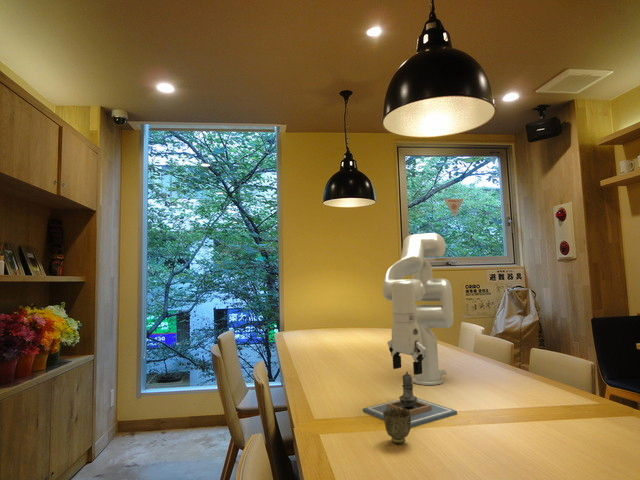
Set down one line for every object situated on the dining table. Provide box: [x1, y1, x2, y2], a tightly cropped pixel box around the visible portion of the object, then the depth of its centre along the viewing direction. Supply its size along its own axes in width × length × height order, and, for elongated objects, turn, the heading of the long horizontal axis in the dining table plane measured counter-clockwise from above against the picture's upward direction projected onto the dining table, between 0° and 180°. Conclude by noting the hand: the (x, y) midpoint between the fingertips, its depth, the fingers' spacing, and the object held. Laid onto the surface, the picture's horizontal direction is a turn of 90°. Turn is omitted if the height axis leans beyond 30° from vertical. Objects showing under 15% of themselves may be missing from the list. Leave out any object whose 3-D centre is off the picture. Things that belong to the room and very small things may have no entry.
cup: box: [383, 408, 411, 446], centre depth 109 cm, size 8×7×8 cm
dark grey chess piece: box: [398, 371, 419, 410], centre depth 133 cm, size 6×6×12 cm
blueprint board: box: [362, 397, 458, 429], centre depth 132 cm, size 22×20×2 cm
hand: (407, 371), depth 134 cm, fingers open, 9 cm apart
